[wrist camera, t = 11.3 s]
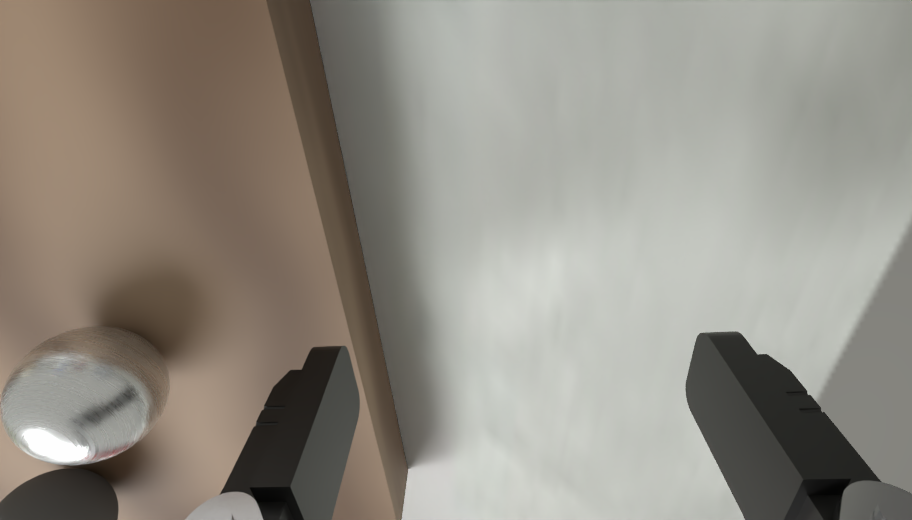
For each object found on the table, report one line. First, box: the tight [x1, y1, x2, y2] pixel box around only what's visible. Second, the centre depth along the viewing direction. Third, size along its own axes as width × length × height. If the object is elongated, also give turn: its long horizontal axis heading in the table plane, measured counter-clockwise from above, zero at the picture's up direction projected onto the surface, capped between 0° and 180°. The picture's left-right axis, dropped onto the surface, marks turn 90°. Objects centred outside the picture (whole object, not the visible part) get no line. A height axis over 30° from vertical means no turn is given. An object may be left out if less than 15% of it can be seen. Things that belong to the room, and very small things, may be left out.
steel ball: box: [0, 326, 170, 465], centre depth 11 cm, size 3×3×3 cm
